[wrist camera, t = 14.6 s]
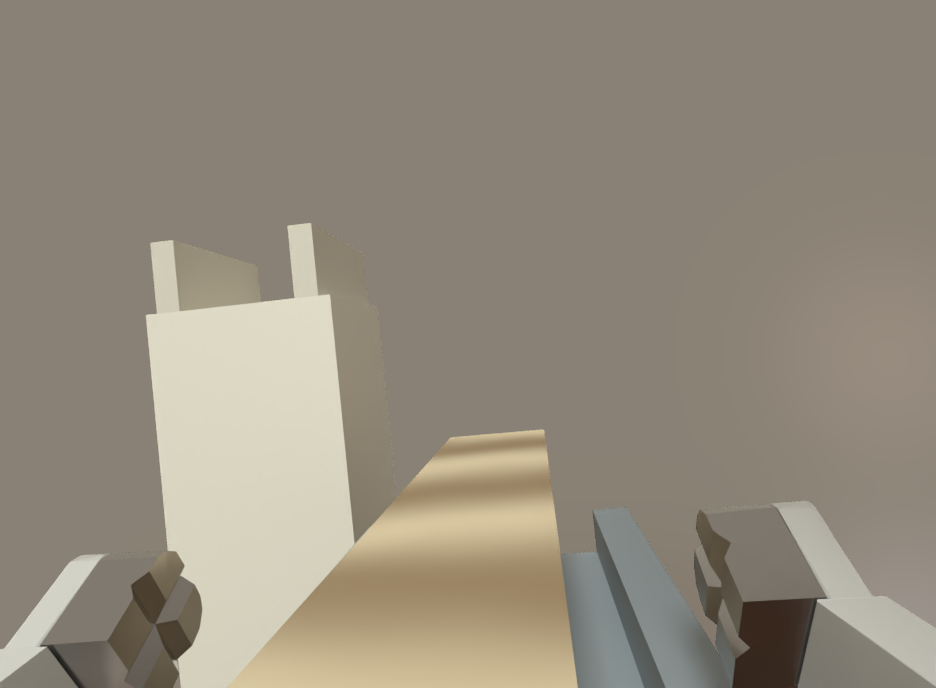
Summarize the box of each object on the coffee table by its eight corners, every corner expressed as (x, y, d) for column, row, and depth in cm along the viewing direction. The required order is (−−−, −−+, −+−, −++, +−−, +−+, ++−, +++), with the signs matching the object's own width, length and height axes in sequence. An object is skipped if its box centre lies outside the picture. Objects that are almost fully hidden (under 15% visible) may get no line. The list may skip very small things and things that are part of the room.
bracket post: (281, 795, 33) (231, 268, 33) (425, 790, 32) (372, 251, 33) (204, 937, 25) (139, 244, 26) (393, 935, 24) (322, 221, 25)
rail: (460, 530, 26) (450, 437, 26) (553, 523, 26) (543, 429, 26) (221, 1132, 6) (184, 734, 6) (626, 1149, 6) (581, 720, 6)
